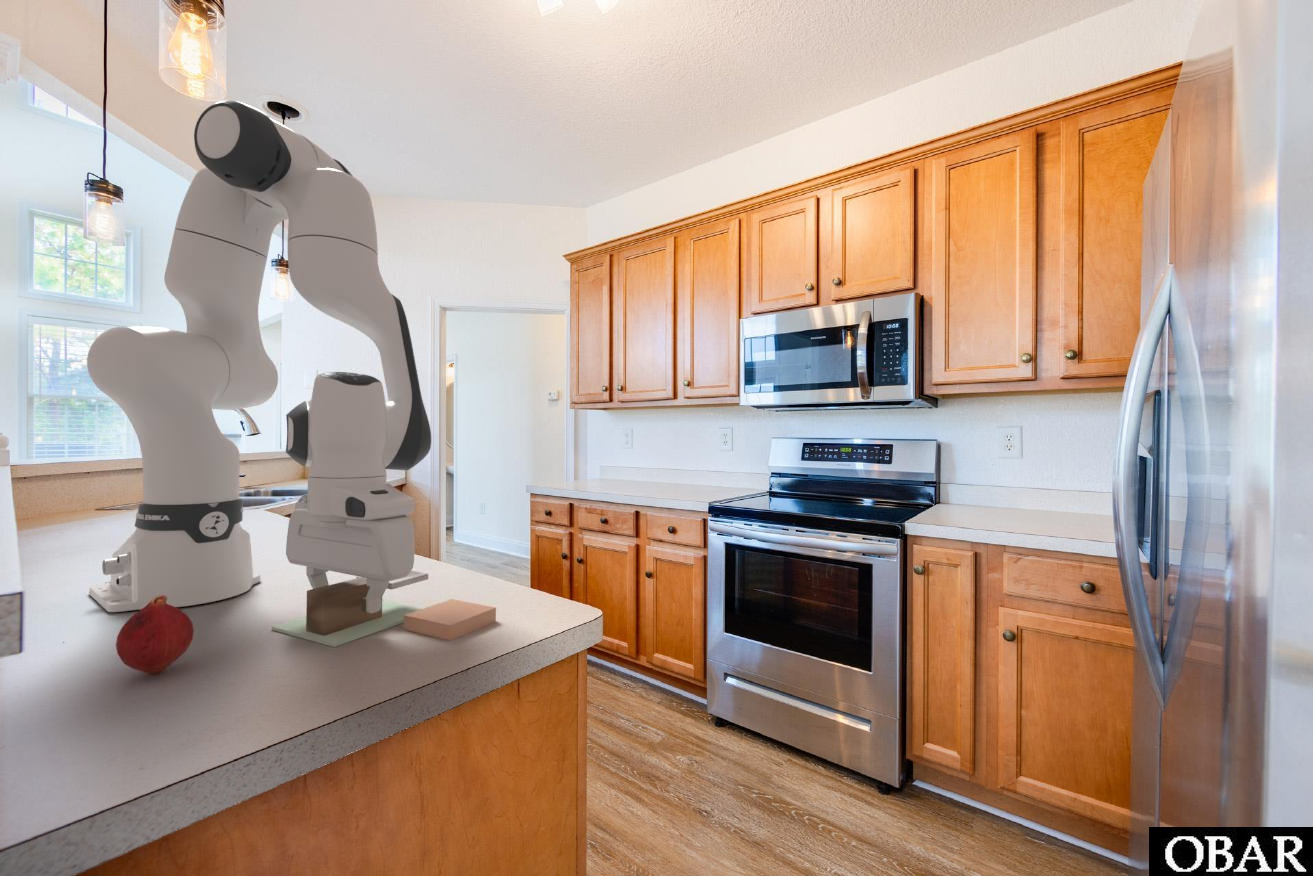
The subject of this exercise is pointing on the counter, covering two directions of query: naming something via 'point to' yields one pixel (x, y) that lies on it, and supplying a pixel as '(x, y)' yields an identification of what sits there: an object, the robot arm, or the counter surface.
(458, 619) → the tile
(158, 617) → the onion
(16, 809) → the counter surface
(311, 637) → the plate
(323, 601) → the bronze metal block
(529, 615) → the counter surface
